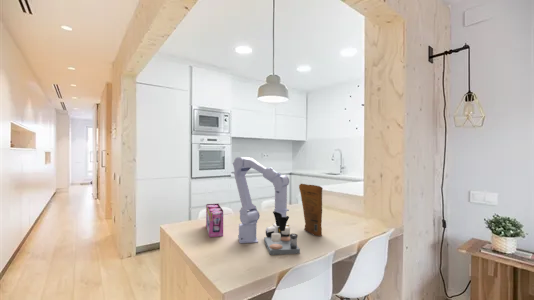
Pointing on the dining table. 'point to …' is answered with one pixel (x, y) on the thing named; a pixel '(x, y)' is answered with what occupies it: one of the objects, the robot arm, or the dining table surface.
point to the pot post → (293, 241)
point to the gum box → (214, 220)
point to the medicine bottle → (274, 230)
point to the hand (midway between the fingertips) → (280, 228)
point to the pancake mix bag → (312, 208)
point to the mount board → (280, 246)
